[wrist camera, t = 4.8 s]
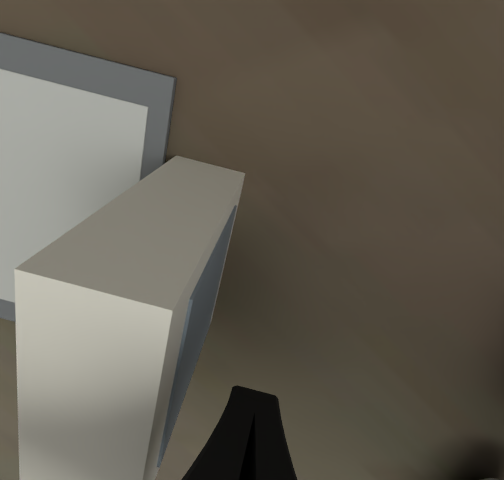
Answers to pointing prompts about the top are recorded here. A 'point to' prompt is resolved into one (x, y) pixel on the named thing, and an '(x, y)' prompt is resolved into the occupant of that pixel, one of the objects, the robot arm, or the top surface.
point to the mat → (69, 143)
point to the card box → (120, 324)
